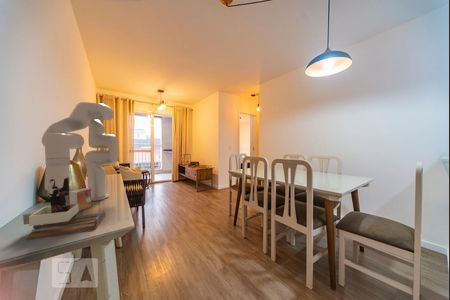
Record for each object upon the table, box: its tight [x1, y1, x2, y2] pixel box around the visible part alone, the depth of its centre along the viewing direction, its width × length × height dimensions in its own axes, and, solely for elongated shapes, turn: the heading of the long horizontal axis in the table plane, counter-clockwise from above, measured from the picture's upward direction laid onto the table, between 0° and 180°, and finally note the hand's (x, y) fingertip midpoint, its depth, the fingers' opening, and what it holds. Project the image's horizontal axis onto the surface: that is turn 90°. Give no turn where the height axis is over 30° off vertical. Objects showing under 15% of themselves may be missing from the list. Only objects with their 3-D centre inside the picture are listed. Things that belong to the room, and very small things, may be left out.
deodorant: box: [50, 177, 70, 213], centre depth 73 cm, size 6×6×15 cm
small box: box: [69, 187, 92, 212], centre depth 93 cm, size 8×6×10 cm
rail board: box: [25, 209, 106, 241], centre depth 75 cm, size 14×22×4 cm, turn 112°
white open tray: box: [22, 203, 80, 229], centre depth 72 cm, size 10×15×6 cm, turn 112°
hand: (60, 202), depth 73 cm, fingers closed on deodorant, 5 cm apart
